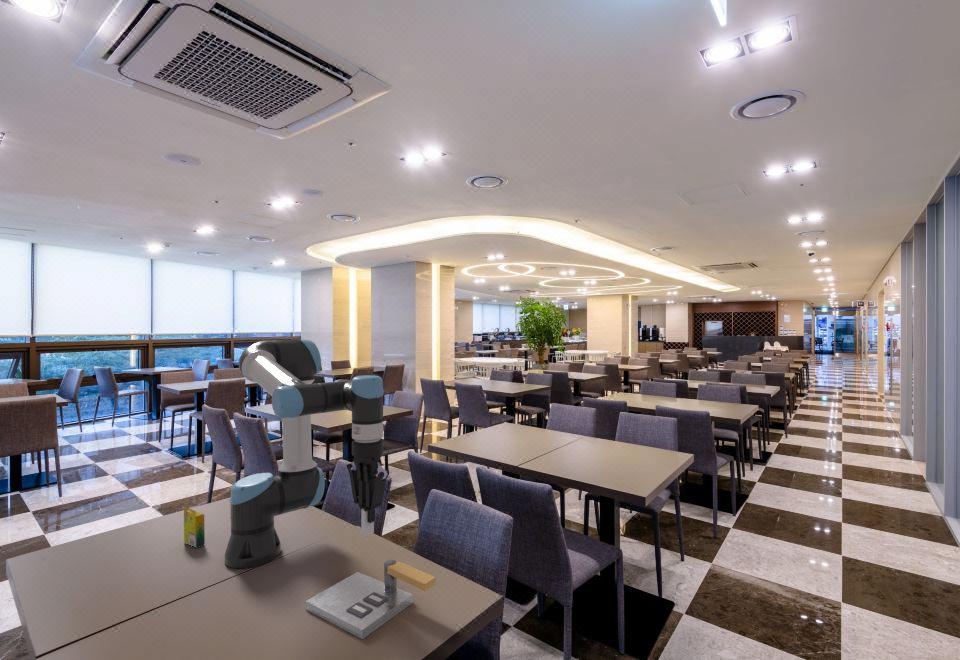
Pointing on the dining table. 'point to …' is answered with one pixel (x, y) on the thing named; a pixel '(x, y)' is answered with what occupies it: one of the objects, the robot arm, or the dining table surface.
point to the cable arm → (409, 574)
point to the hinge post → (390, 583)
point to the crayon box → (193, 528)
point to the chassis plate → (349, 593)
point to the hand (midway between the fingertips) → (367, 534)
